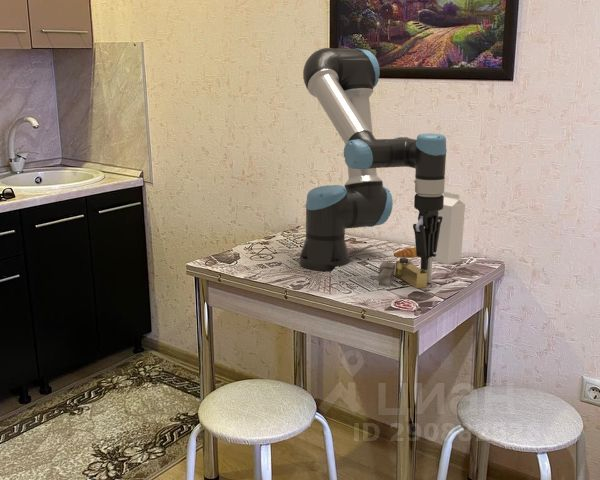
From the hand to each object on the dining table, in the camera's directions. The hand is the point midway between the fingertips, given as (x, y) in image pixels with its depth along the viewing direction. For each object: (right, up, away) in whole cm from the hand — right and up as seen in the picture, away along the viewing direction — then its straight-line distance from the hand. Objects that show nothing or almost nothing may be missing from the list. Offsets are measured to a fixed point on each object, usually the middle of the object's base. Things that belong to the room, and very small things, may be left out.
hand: (425, 280), depth 178 cm
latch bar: (-4, 0, +2) cm, 5 cm away
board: (-5, -1, +7) cm, 8 cm away
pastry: (0, +4, +29) cm, 29 cm away
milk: (+11, +3, +24) cm, 26 cm away
